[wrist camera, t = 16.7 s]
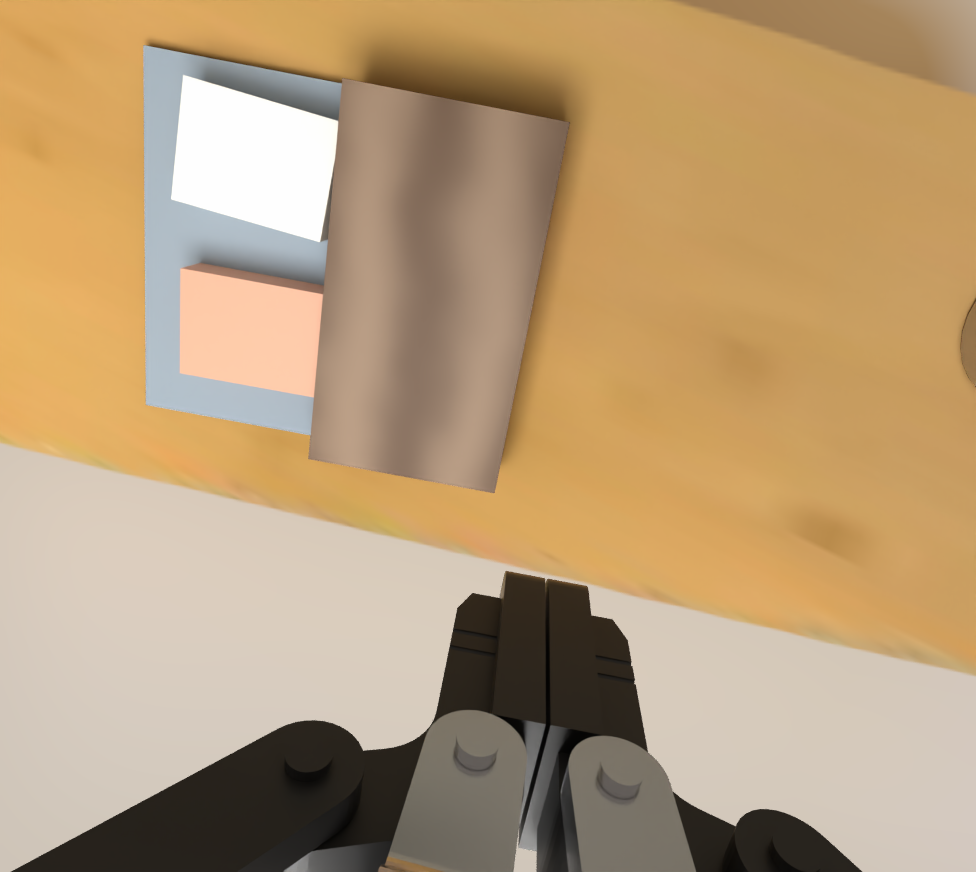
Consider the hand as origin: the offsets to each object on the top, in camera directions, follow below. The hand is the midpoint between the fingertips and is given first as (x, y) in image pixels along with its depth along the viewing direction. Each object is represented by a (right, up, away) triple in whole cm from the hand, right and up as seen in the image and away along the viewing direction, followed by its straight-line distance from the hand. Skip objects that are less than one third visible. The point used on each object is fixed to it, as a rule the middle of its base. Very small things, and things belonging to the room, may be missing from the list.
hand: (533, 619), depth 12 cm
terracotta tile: (-14, +10, +28) cm, 33 cm away
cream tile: (-13, +18, +25) cm, 33 cm away
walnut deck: (-4, +12, +27) cm, 30 cm away
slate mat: (-15, +14, +27) cm, 34 cm away
